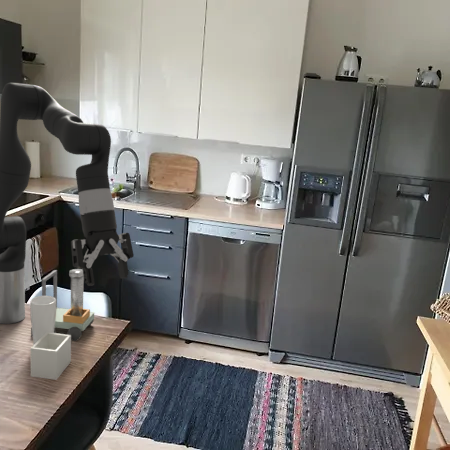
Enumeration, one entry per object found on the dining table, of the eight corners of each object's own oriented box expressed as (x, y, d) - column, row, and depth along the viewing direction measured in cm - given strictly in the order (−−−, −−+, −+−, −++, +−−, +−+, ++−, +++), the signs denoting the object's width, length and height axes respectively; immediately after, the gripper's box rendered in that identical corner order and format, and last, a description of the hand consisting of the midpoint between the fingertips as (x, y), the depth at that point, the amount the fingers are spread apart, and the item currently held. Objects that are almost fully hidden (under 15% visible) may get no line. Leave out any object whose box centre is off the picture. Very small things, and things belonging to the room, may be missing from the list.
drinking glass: (47, 356, 129) (47, 306, 125) (25, 352, 130) (24, 302, 126) (60, 345, 135) (61, 297, 132) (39, 341, 136) (39, 293, 133)
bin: (30, 376, 119) (30, 348, 117) (46, 358, 128) (46, 332, 126) (56, 379, 118) (56, 351, 117) (70, 361, 127) (71, 335, 125)
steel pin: (66, 320, 140) (66, 273, 136) (72, 314, 144) (73, 268, 141) (81, 322, 139) (81, 274, 136) (86, 316, 144) (87, 269, 140)
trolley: (39, 336, 139) (39, 280, 135) (56, 320, 150) (56, 268, 146) (81, 341, 138) (82, 285, 134) (95, 325, 149) (96, 273, 145)
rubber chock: (31, 336, 139) (31, 327, 138) (34, 333, 141) (34, 324, 140) (40, 337, 139) (40, 328, 138) (43, 334, 141) (43, 325, 140)
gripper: (115, 210, 112) (124, 276, 112) (59, 215, 102) (70, 288, 102) (132, 206, 107) (143, 275, 107) (76, 211, 97) (87, 287, 97)
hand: (107, 281), depth 105 cm, fingers open, 8 cm apart
